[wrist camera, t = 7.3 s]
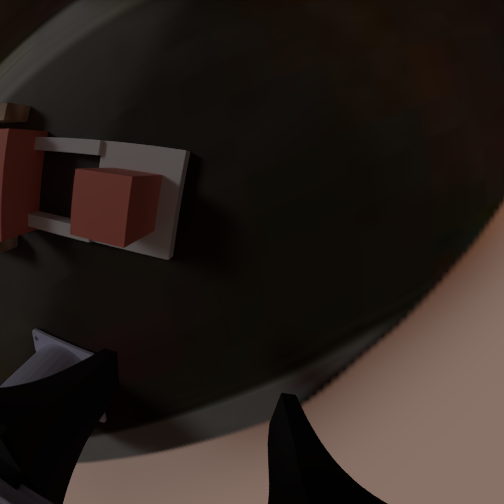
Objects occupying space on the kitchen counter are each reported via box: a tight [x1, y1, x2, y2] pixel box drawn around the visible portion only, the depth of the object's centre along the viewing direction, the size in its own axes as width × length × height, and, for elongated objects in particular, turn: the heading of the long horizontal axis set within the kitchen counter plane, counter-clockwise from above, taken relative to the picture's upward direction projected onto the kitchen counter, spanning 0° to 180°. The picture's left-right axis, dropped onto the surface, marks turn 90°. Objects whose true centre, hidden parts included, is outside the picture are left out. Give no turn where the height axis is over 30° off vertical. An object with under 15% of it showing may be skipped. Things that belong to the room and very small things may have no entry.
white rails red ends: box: [0, 128, 190, 260], centre depth 16 cm, size 8×14×5 cm, turn 78°
